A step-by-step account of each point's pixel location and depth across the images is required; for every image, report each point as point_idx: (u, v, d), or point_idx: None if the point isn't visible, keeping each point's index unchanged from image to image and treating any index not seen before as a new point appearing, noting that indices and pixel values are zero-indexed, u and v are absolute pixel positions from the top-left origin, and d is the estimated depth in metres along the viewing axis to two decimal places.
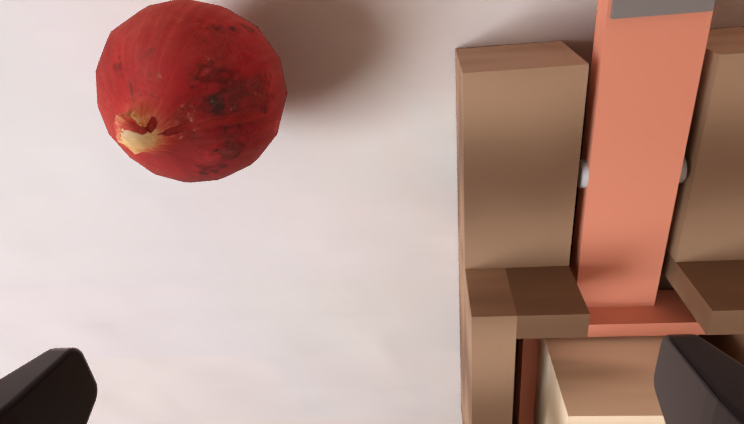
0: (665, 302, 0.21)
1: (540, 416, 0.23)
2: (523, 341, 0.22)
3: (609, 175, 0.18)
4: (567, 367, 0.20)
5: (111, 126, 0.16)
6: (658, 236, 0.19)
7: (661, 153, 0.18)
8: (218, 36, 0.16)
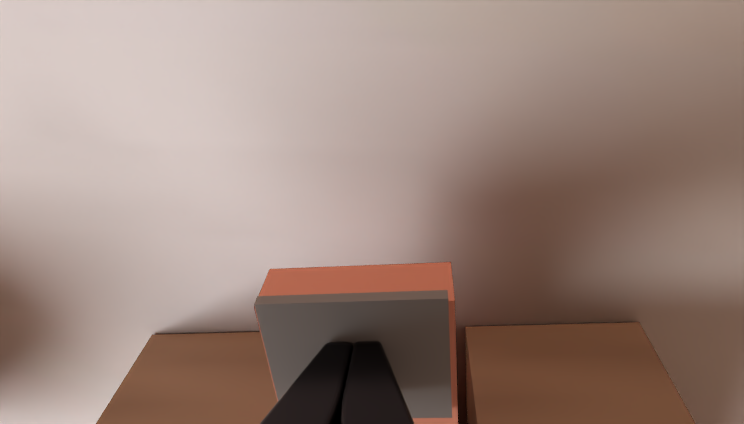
0: None
1: None
2: None
3: None
4: None
5: None
6: None
7: None
8: None
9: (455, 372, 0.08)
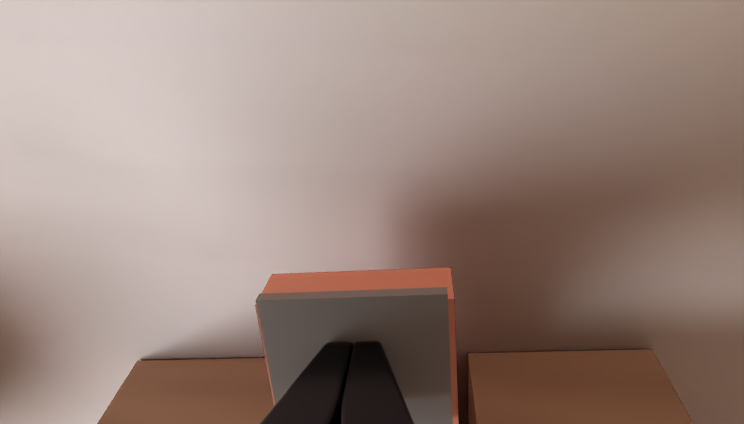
0: None
1: None
2: None
3: None
4: None
5: None
6: None
7: None
8: None
9: (455, 377, 0.08)
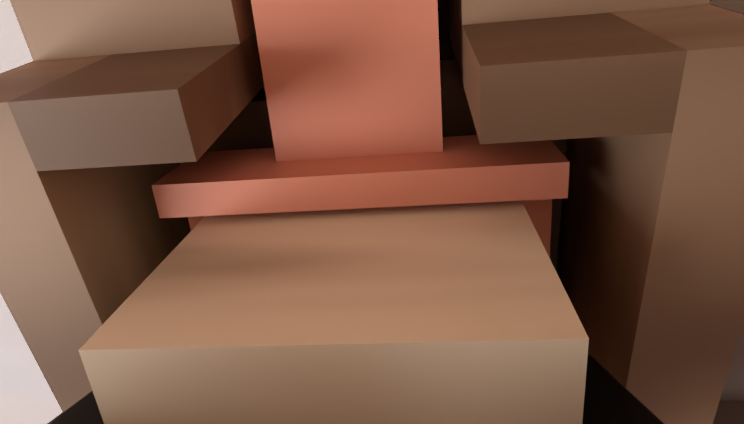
0: (470, 146, 0.10)
1: None
2: None
3: None
4: (196, 257, 0.08)
5: None
6: None
7: None
8: None
9: None
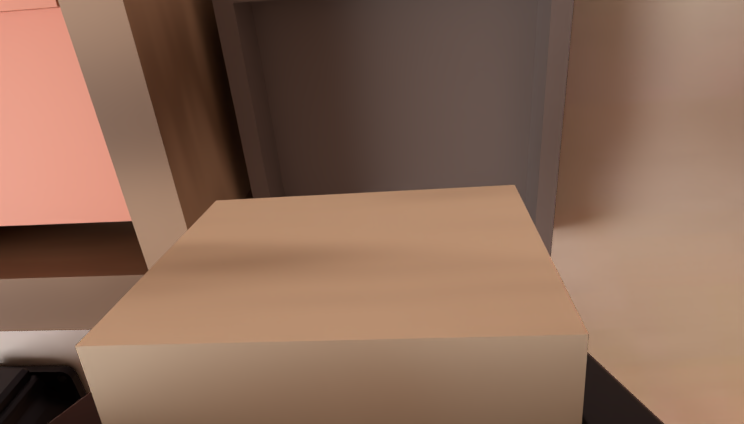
0: None
1: None
2: None
3: None
4: (193, 255, 0.08)
5: None
6: None
7: None
8: None
9: None
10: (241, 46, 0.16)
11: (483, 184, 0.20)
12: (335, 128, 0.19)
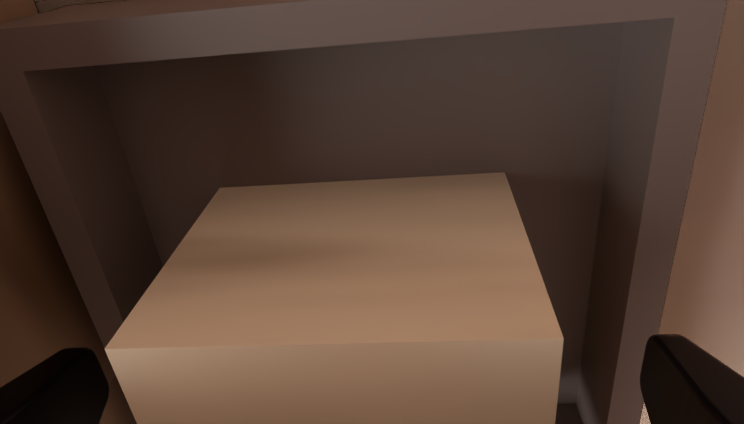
0: None
1: None
2: None
3: None
4: (203, 250, 0.08)
5: None
6: None
7: None
8: None
9: None
10: (54, 149, 0.08)
11: None
12: None
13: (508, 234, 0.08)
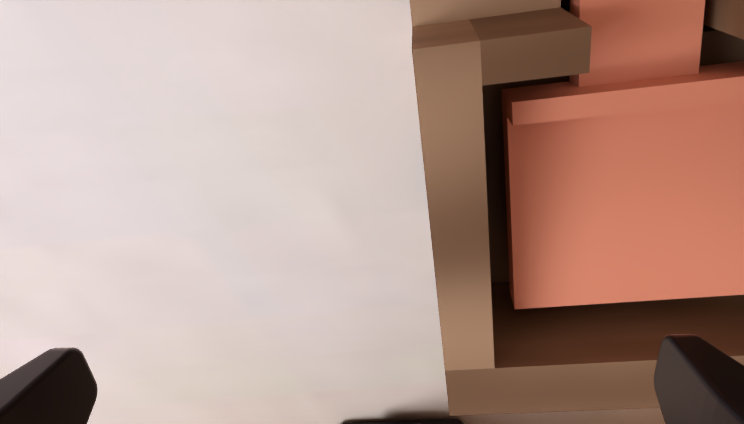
0: (715, 70, 0.14)
1: None
2: (509, 155, 0.15)
3: None
4: None
5: None
6: None
7: None
8: None
9: None
10: None
11: None
12: None
13: None
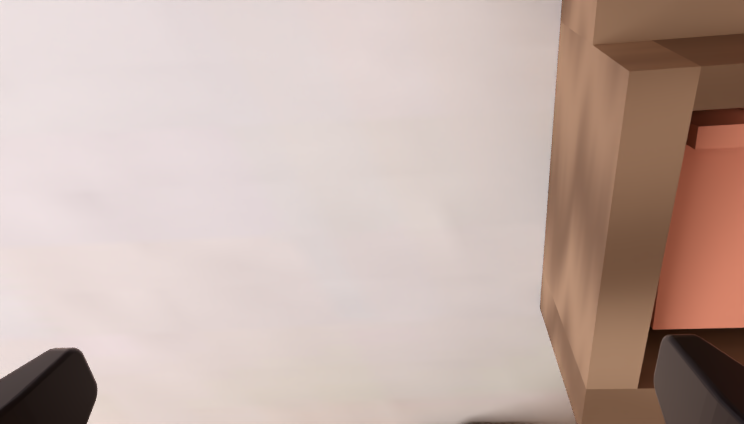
0: None
1: None
2: None
3: None
4: None
5: None
6: None
7: None
8: None
9: None
10: None
11: None
12: None
13: None
